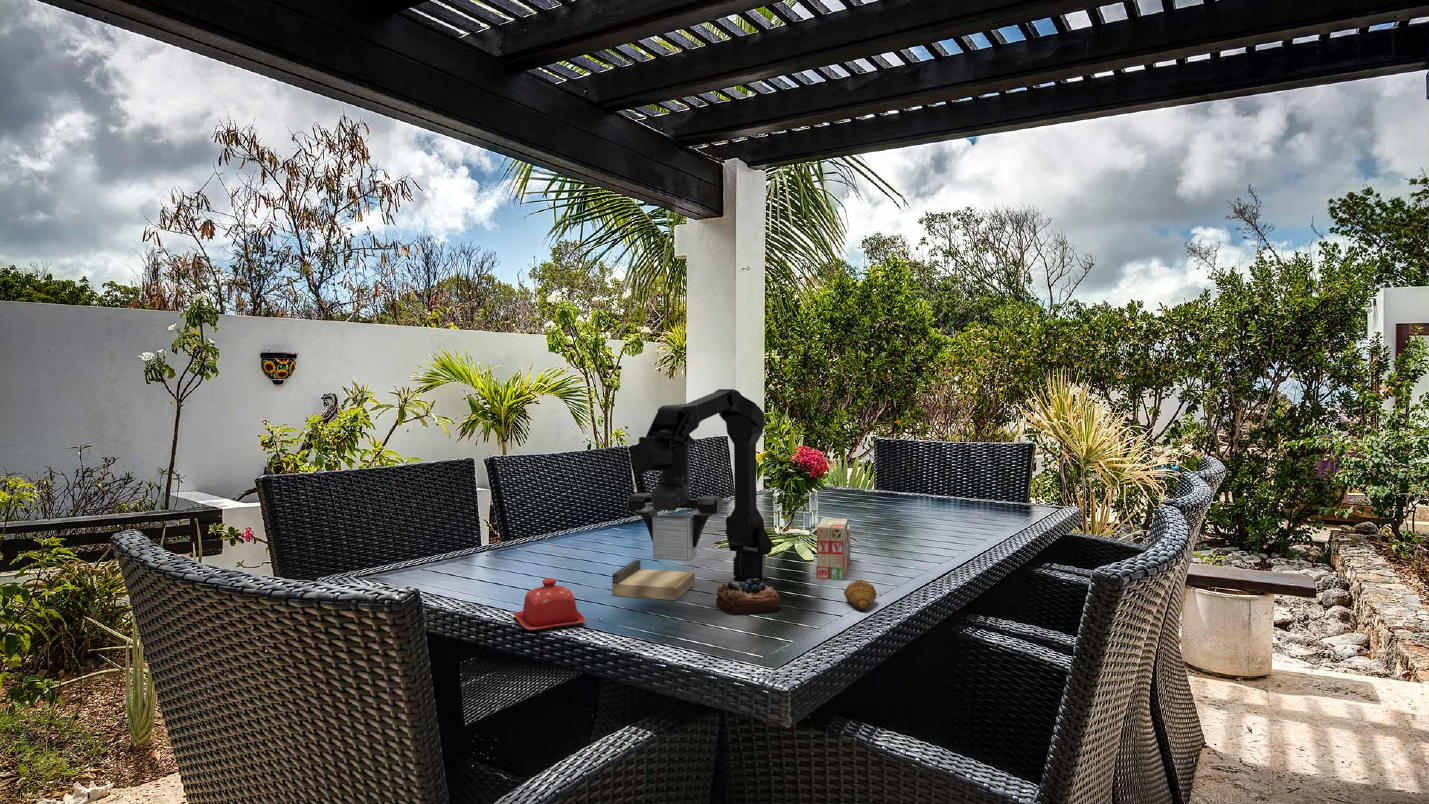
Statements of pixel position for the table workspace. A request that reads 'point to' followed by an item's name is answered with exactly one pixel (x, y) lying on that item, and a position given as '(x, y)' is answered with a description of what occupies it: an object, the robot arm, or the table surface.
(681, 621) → the table surface
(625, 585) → the dock
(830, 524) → the stack of blocks
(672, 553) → the medicine box
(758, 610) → the pastry
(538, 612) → the butter dish
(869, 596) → the croissant
